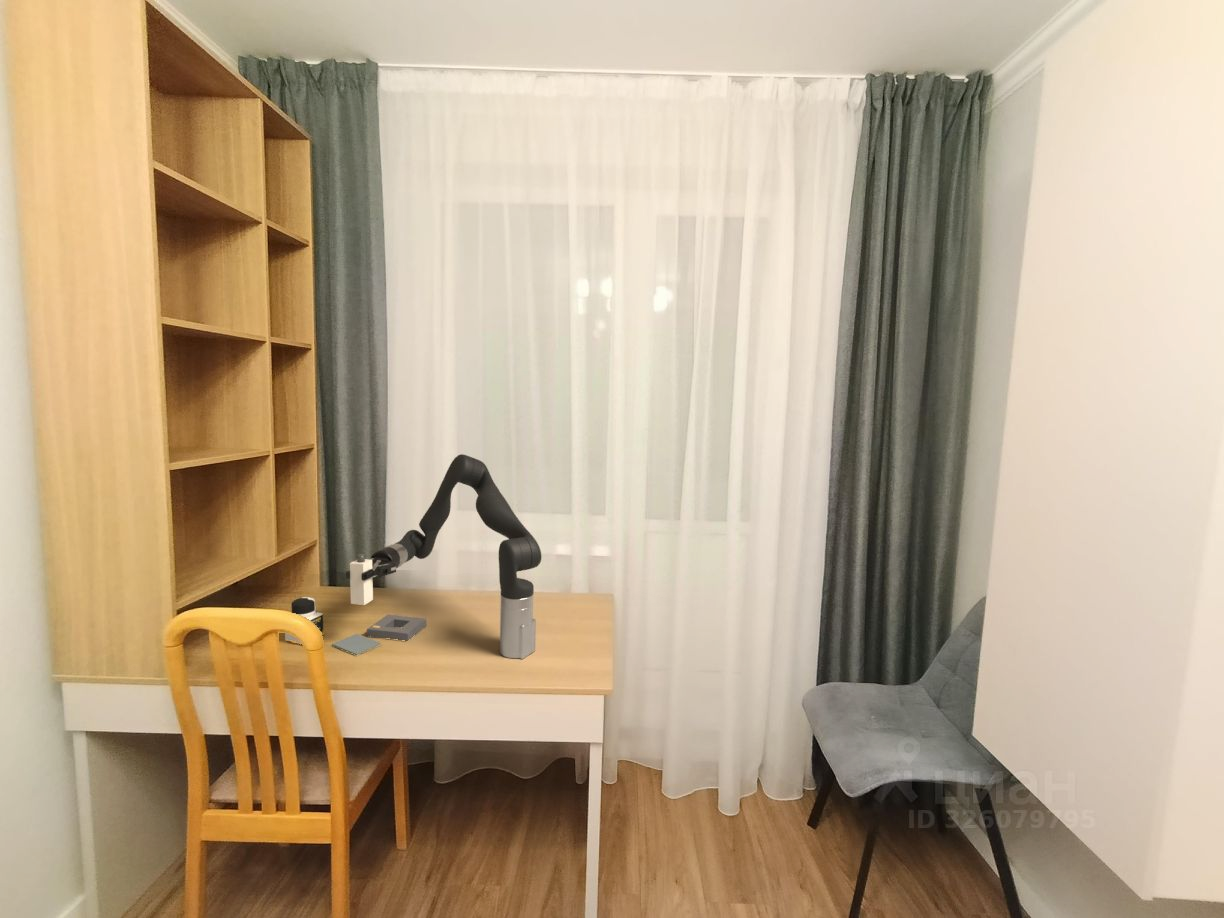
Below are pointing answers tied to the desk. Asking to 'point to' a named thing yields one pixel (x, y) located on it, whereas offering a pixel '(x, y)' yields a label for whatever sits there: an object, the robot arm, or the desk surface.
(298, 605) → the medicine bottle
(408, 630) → the socket block
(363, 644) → the mat
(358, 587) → the plug
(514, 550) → the robot arm
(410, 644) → the desk surface
